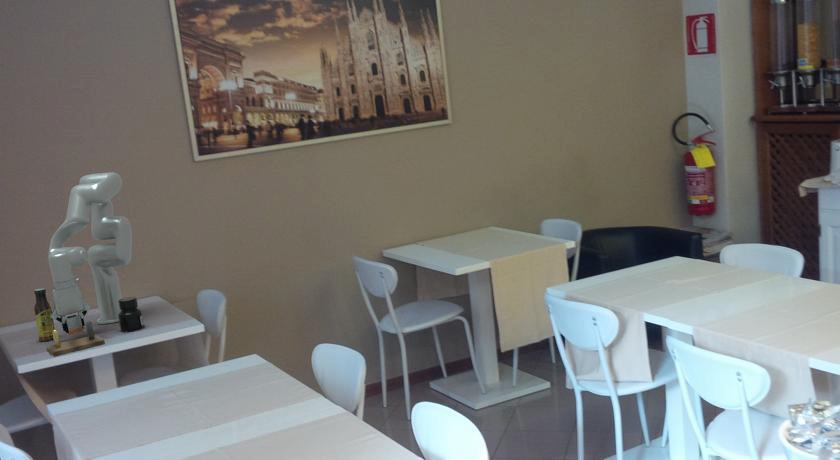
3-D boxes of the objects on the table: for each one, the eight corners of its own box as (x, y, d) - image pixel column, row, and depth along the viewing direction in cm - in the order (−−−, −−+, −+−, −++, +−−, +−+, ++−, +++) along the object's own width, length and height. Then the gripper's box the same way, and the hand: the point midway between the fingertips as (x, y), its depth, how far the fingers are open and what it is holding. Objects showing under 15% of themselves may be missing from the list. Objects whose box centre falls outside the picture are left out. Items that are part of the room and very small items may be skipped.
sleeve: (80, 328, 348) (76, 313, 347) (83, 331, 344) (80, 316, 343) (66, 332, 345) (63, 317, 344) (69, 334, 341) (66, 319, 340)
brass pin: (61, 350, 332) (57, 329, 331) (62, 351, 330) (58, 329, 329) (55, 351, 331) (51, 330, 330) (56, 352, 329) (52, 331, 328)
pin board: (96, 338, 344) (92, 317, 342) (104, 343, 334) (101, 322, 332) (46, 350, 334) (42, 329, 333) (53, 356, 324) (49, 334, 323)
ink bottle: (149, 327, 352) (144, 297, 350) (128, 333, 345) (123, 302, 343) (136, 324, 358) (131, 295, 356) (116, 330, 352) (110, 300, 350)
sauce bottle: (45, 342, 347) (36, 291, 343) (35, 341, 350) (26, 291, 347) (60, 337, 352) (51, 287, 349) (50, 336, 355) (40, 287, 352)
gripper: (85, 277, 348) (94, 322, 352) (39, 288, 339) (49, 334, 343) (90, 280, 342) (99, 326, 346) (43, 291, 333) (53, 338, 337)
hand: (74, 329), depth 345 cm, fingers closed on sleeve, 5 cm apart
